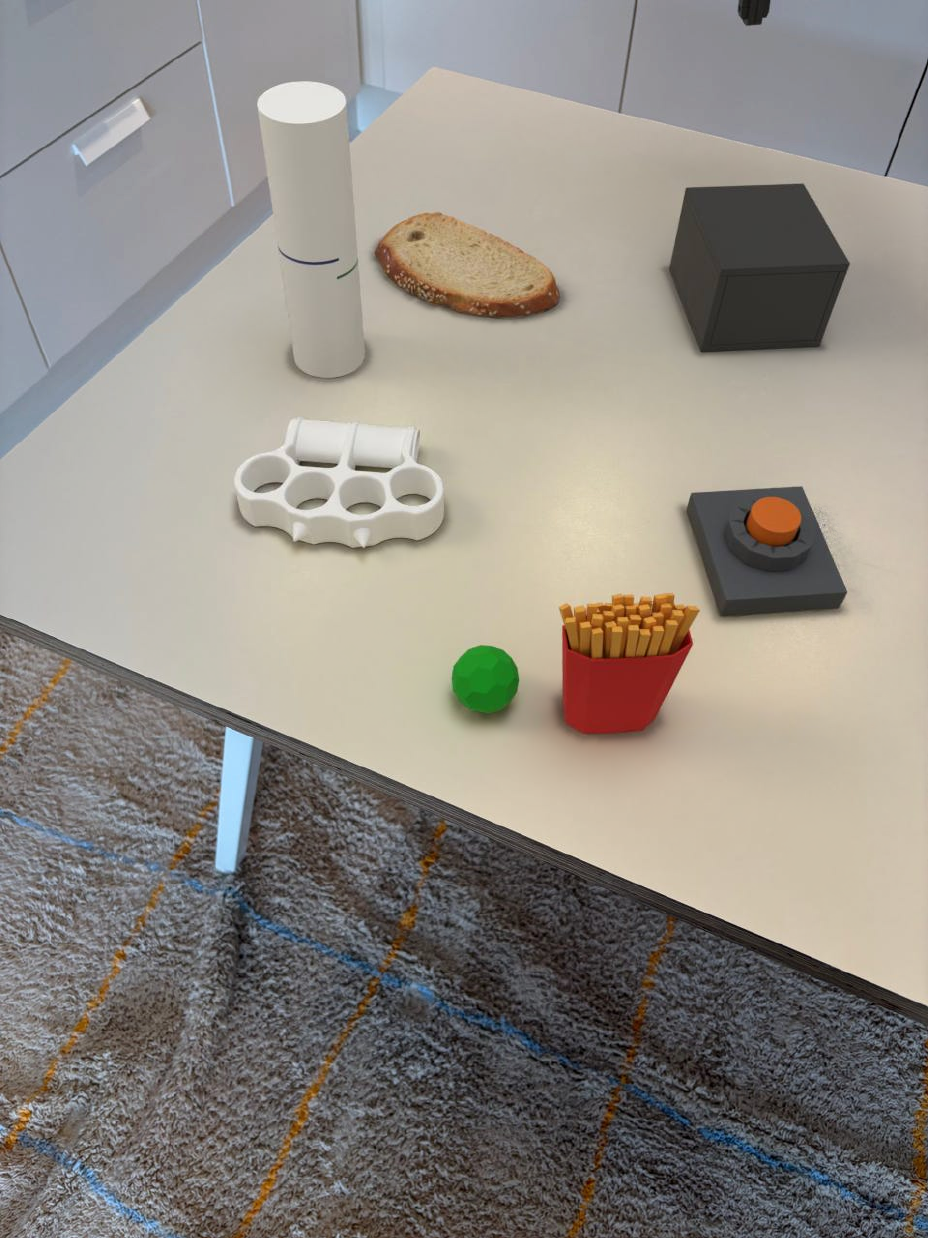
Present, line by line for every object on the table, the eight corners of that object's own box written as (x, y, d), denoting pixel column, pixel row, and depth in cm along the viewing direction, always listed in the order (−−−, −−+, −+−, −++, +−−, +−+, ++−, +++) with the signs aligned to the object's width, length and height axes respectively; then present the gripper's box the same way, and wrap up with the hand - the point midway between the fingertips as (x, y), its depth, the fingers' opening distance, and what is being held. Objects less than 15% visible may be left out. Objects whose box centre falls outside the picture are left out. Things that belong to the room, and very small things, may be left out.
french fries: (659, 683, 77) (693, 575, 66) (670, 731, 74) (707, 626, 64) (541, 689, 76) (557, 581, 66) (548, 738, 74) (566, 633, 63)
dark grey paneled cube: (668, 269, 110) (685, 187, 103) (778, 264, 111) (803, 182, 104) (700, 352, 102) (721, 268, 94) (819, 346, 103) (850, 263, 95)
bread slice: (567, 311, 105) (571, 280, 102) (401, 334, 102) (400, 303, 99) (520, 220, 116) (523, 189, 113) (368, 238, 113) (366, 208, 110)
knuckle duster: (454, 448, 92) (436, 568, 83) (262, 432, 93) (224, 549, 84) (454, 420, 90) (436, 541, 81) (257, 404, 90) (217, 522, 81)
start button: (740, 512, 83) (745, 497, 82) (787, 509, 83) (793, 494, 82) (753, 548, 81) (759, 533, 79) (801, 545, 81) (808, 530, 79)
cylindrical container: (284, 342, 101) (246, 89, 81) (351, 326, 103) (329, 75, 83) (306, 385, 97) (271, 130, 77) (375, 367, 99) (358, 113, 79)
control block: (685, 509, 88) (695, 477, 85) (795, 503, 89) (808, 470, 86) (720, 617, 81) (731, 585, 78) (839, 608, 82) (855, 577, 78)
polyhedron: (519, 722, 74) (524, 687, 70) (454, 726, 74) (455, 691, 70) (512, 667, 77) (516, 631, 74) (449, 671, 77) (450, 634, 73)
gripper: (715, -183, 86) (694, 40, 98) (868, -197, 86) (828, 28, 98) (696, -196, 91) (679, 17, 104) (841, -209, 91) (806, 6, 103)
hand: (751, 22), depth 101 cm, fingers closed
